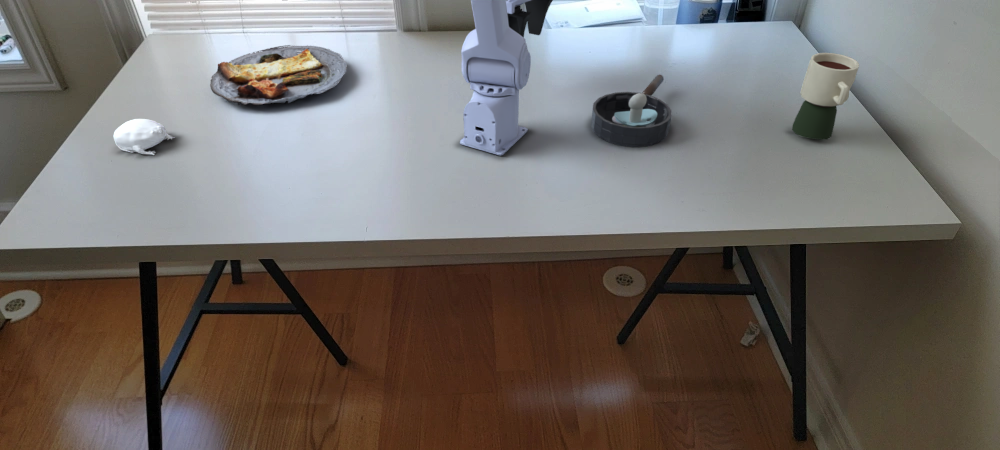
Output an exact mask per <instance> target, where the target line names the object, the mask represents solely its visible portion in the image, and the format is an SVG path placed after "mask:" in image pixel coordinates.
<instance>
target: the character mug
mask: <svg viewBox="0 0 1000 450" xmlns="http://www.w3.org/2000/svg"><path fill="white" fill-rule="evenodd" d="M859 68H860V63H859V61H857V60H856V59H854V58H852V57H850V56H848V55H844V54H841V53H834V52H819V53H818V52H817V53H815V54H812V55H811V57H810V59H809V62H808V65H807V69H806V72H805V75H804V79H803V81H802V85H801V88H800V93H799V94H800V96H801V98H802V99H803V102H802V104H801V106H800V108H799V110H798V112H797V114H796V116H795V118H794V121H793V123H792V126H791V130H792V131H793V133H795V135H797V136H800V137H802V138H806V139H811V140H829V139H830V138H832V135H833V133H834V129H835V122H836V117H837V113H838V109H837V107H839V106H842V105H844V104H845V103H846V102H847V101H848V100H849V98H850V91H851V88H852V86H853V84H854V83H855V81H856V77H857V73H858V71H859Z"/></svg>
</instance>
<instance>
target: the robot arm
mask: <svg viewBox="0 0 1000 450" xmlns="http://www.w3.org/2000/svg"><path fill="white" fill-rule="evenodd" d="M553 1H554V0H470V3H471V10H472V15H473V21H474V27H475V28H474V29H472V30H471V31H470V32H468V33H467V35H466V37H465V39H464V41H463V44H462V46H461V51H460V53H461V74H462V78H463V79H464V81H465V83H467V84H469V89H470V90H472V95H471V98H470V100H469V101H468V103H466V105H465V106H464V109H463V137H462V138H461V139H460V140H459V144H460V145H462V146H466V147H468V148H471V149H476V150H479V151H483V152H486V153H489V154H493V155H497V156H501V157H502V156H503V155H505V154H506V153H507V152H508V151H509V150H510V149H511V148H512V147H513V146H514V145H515V144H516V143H517V142H518V141H519V140H520V139H522V137H523V136H524V135H526V133H527V132H529V131H528V129H529V128H527V127H525V126H521V125H519V113H520V112H519V110H520V109H519V106H520V105H519V104H520V90H523V89H524V87H526V86H527V84H528V82H529V78H530V72H531V61H532V59H531V58H532V57H531V54H530V51H529V50H528V44H527V41H526V38H525V31H526V27H527V30H528V34H529V35H535V36H541V34H542V31H543V27H544V23H545V19H546V16H547V13H548V11H549V8H550V7H551V4H552V2H553ZM522 5H525V10H523V8H521V7H522Z"/></svg>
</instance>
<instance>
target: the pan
mask: <svg viewBox="0 0 1000 450" xmlns="http://www.w3.org/2000/svg"><path fill="white" fill-rule="evenodd" d="M638 93H639V92H637V91H636V92H635V91H617V92H616V91H615V92H612V93H611V92H610V93H607V94H604V95H602V96H600V97H598V98H597V99H595V101H594V102H593V103H592V110H591V111H592V113H591V121H590V126H591V130H592V132H593V133H594V134H595V136H597V137H598V138H600V139H601V140H603V141H605V142H608V143H609V144H612V145H616V146H621V147H628V148H642V147H649V146H654V145H657V144H660V143H661V142H663V141H664V140H665V139H666V138H667V137H668V135H669V132H670V127H671V122H672V117H673V113H672V109H671V107H670V106H669V104H668V103H667V102H665V101H663V100H662V99H660V98H658V97H655V96H654V95H652V96H651V95H647V94H646V98H647V101H646V104H645V106H644V107H643V109H652V110H655V111H656V112H657V118H656V120H655V121H654V122H653V123H651V124H649V125H646V126H643V127H631V126H623V125H620V124H617V123H615V122H613V120H612V118H613V116H614V114H615V112H625V111H630V109H631V108H630V107H629V100H630V99H631V98H632V97H633V96H634V95H635V94H638ZM647 121H650V120H647Z"/></svg>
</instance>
